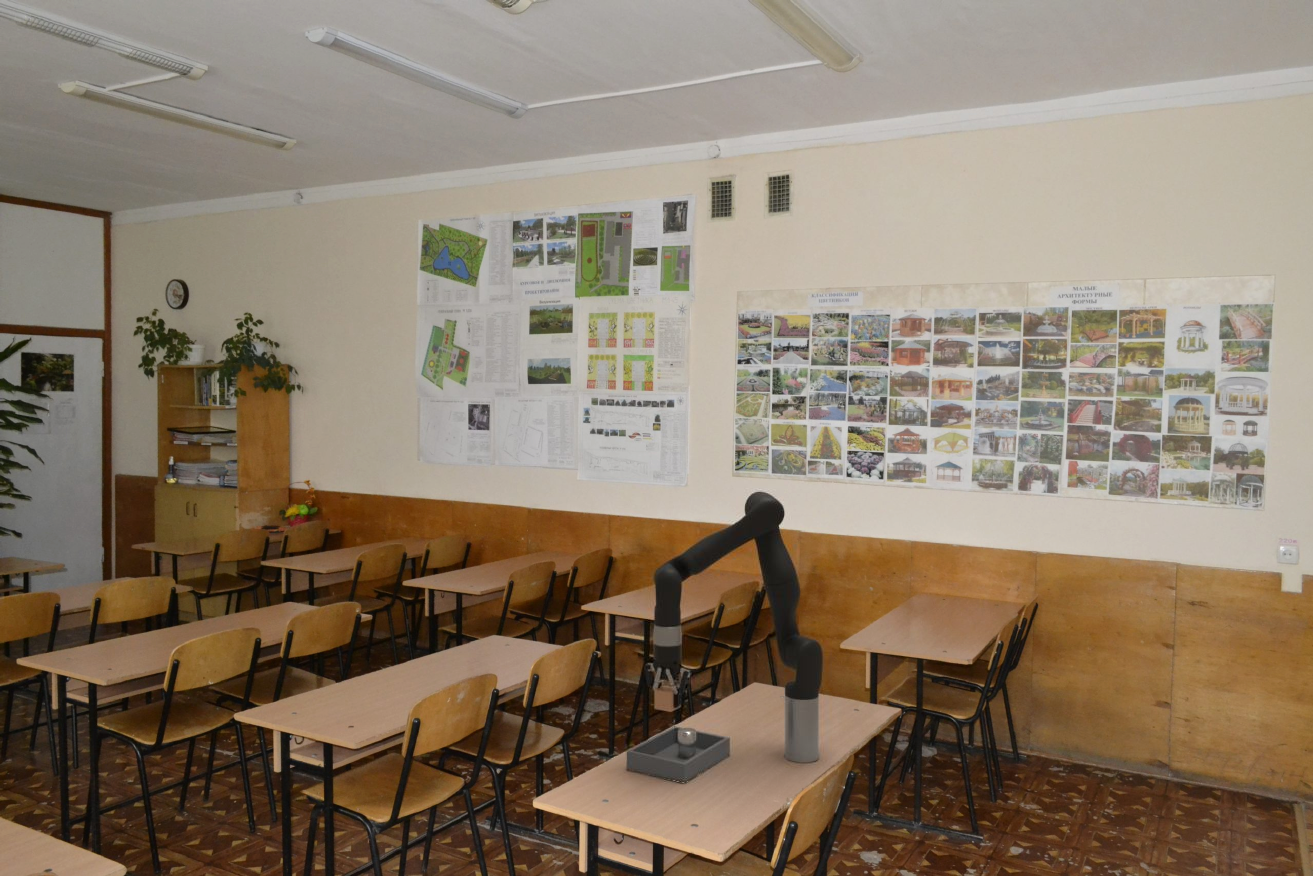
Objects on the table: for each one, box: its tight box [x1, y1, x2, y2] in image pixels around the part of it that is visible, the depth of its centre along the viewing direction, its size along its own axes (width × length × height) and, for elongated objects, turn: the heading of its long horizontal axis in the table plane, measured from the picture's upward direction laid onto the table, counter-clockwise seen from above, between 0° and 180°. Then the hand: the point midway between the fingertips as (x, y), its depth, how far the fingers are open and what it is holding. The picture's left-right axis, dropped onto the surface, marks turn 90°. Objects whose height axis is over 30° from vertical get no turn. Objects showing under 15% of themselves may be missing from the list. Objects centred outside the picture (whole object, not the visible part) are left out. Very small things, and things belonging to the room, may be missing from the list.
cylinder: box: [678, 727, 697, 759], centre depth 259 cm, size 5×5×7 cm
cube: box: [653, 685, 682, 713], centre depth 250 cm, size 5×5×5 cm
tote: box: [626, 725, 731, 784], centre depth 256 cm, size 24×18×5 cm
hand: (667, 705), depth 251 cm, fingers closed on cube, 5 cm apart
